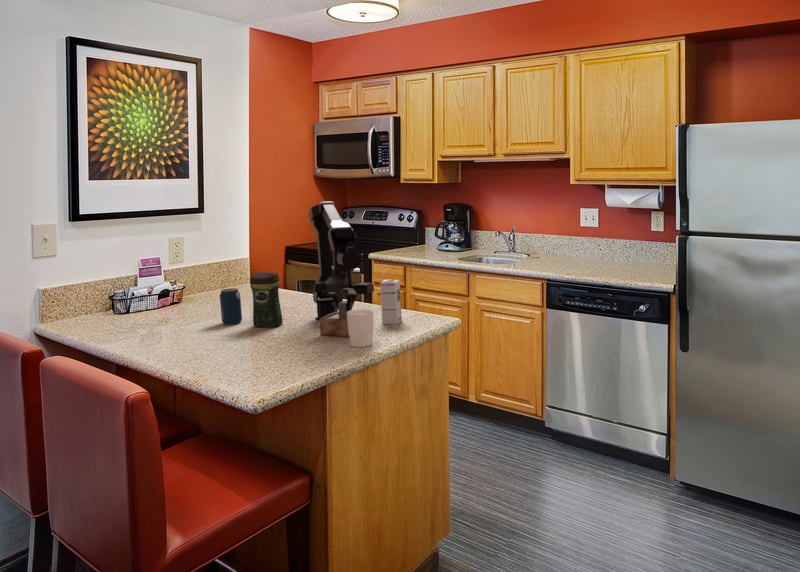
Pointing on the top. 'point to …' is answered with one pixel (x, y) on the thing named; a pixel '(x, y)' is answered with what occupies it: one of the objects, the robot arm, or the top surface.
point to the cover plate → (341, 311)
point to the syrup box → (390, 301)
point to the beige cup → (360, 327)
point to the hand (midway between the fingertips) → (344, 314)
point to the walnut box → (333, 326)
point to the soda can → (230, 306)
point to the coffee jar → (266, 299)
